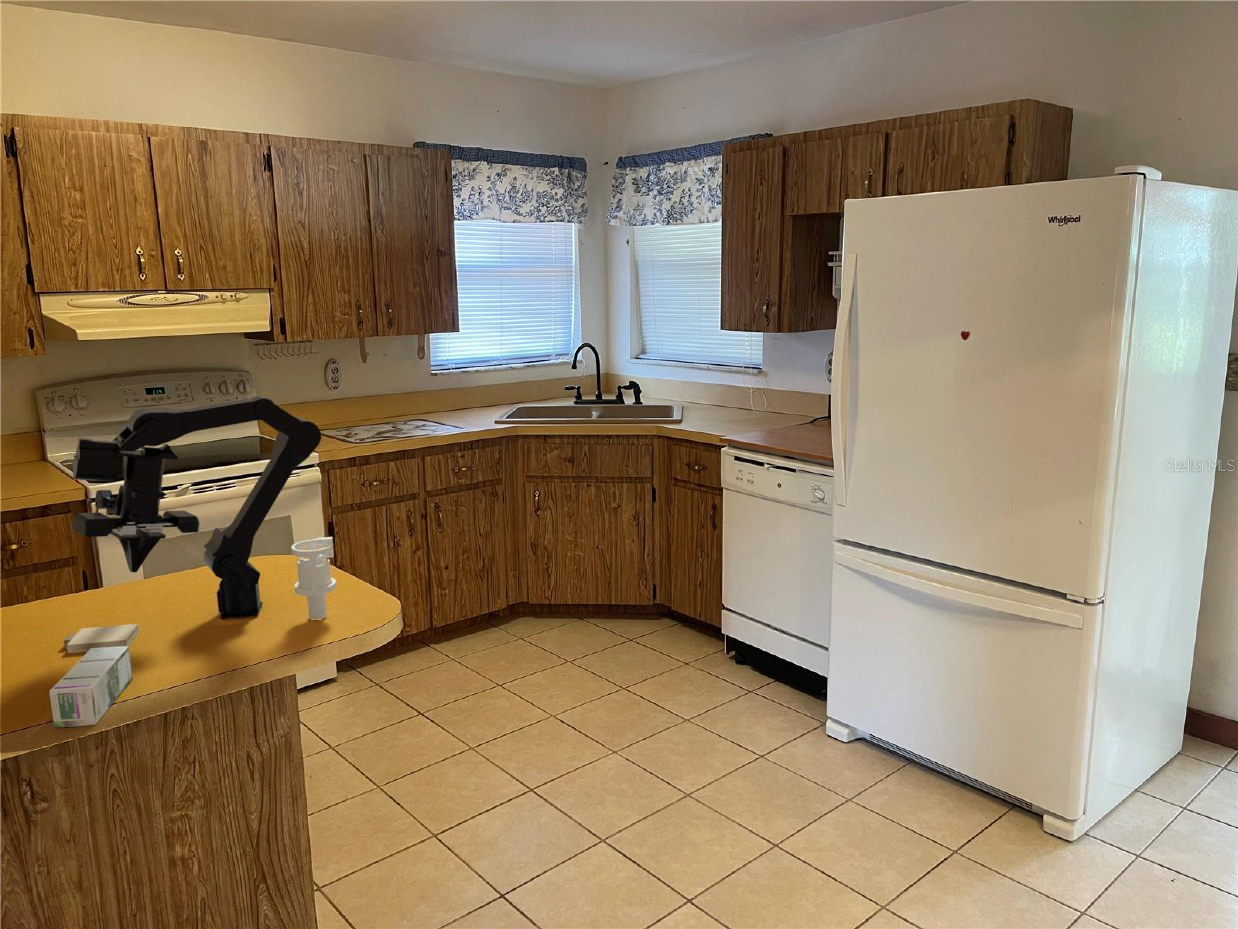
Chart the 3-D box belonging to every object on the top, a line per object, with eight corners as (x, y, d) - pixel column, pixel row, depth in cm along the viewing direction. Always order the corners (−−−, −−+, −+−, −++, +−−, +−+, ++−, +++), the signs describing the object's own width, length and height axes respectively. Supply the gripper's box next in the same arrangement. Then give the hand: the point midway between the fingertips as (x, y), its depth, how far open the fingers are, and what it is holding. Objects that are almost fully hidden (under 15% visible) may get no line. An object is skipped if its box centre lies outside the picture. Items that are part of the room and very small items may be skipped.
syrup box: (89, 647, 137) (45, 691, 123) (130, 644, 138) (91, 688, 124) (94, 681, 138) (50, 729, 124) (135, 678, 139) (96, 726, 125)
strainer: (338, 622, 161) (332, 543, 157) (296, 627, 159) (289, 546, 155) (338, 608, 167) (332, 531, 164) (298, 612, 165) (291, 535, 162)
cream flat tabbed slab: (139, 631, 157) (138, 623, 156) (127, 648, 150) (126, 639, 150) (74, 637, 154) (73, 629, 154) (59, 654, 148) (58, 645, 147)
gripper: (175, 474, 164) (165, 556, 166) (63, 472, 149) (54, 563, 151) (205, 486, 157) (195, 572, 159) (91, 486, 142) (81, 581, 144)
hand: (133, 571), depth 153 cm, fingers closed
